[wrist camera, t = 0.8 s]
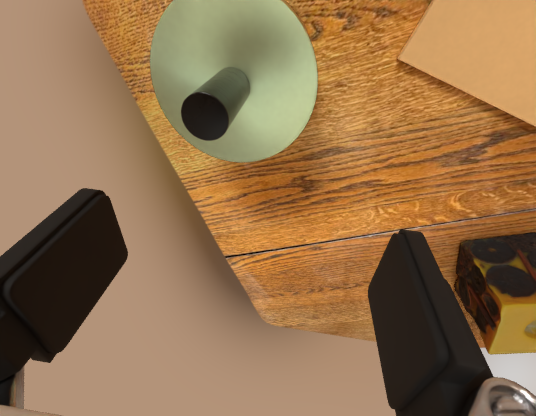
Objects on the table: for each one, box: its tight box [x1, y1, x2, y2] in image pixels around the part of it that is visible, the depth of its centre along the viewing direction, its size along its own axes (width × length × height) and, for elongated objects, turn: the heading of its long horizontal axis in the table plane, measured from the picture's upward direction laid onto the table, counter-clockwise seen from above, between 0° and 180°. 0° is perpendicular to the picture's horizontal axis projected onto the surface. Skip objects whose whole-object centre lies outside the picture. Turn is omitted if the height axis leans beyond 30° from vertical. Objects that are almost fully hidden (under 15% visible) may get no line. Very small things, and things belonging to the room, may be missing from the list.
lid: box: [150, 0, 318, 162], centre depth 18 cm, size 12×12×8 cm
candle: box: [455, 233, 536, 354], centre depth 34 cm, size 10×10×10 cm
